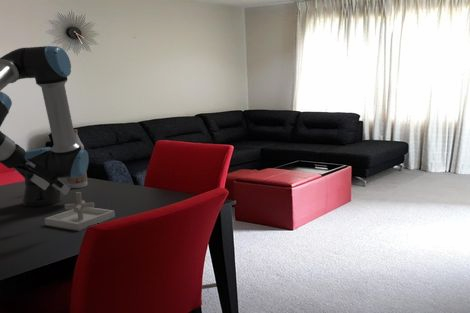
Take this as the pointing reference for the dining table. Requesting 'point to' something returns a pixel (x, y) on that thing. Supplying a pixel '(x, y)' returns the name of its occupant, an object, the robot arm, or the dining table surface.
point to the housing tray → (71, 220)
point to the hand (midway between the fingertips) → (57, 189)
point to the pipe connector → (79, 205)
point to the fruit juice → (77, 181)
